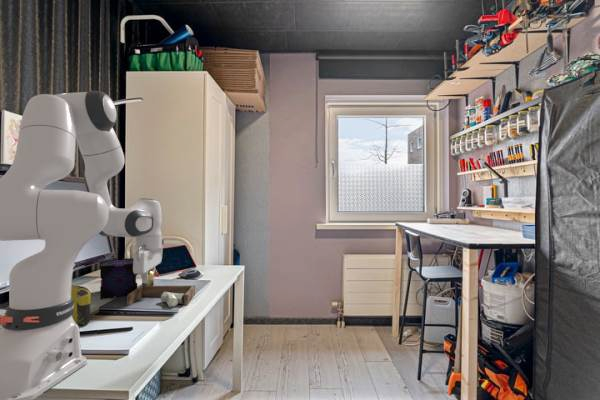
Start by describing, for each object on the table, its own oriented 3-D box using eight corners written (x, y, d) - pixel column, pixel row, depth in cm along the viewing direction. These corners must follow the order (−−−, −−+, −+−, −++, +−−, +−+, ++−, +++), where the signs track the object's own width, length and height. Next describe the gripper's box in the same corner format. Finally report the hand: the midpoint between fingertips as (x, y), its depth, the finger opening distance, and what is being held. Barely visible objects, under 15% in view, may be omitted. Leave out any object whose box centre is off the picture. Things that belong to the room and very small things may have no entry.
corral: (187, 305, 120) (187, 294, 120) (127, 305, 119) (127, 295, 119) (195, 294, 132) (195, 285, 132) (140, 295, 131) (140, 285, 131)
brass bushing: (151, 286, 126) (152, 272, 126) (140, 286, 126) (140, 272, 126) (155, 283, 130) (155, 270, 130) (144, 283, 130) (144, 270, 130)
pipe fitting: (175, 310, 117) (187, 302, 123) (175, 298, 116) (186, 291, 123) (154, 307, 119) (167, 300, 125) (154, 296, 119) (166, 289, 125)
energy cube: (100, 299, 125) (100, 266, 125) (101, 291, 135) (101, 260, 135) (137, 295, 131) (137, 263, 130) (135, 287, 141) (135, 257, 141)
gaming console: (95, 324, 102) (95, 290, 102) (79, 328, 99) (79, 293, 99) (55, 307, 116) (55, 277, 116) (40, 310, 113) (40, 279, 112)
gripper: (147, 247, 118) (147, 288, 118) (165, 239, 138) (165, 274, 138) (127, 247, 117) (127, 288, 117) (149, 239, 137) (148, 274, 138)
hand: (148, 280), depth 128 cm, fingers closed on brass bushing, 4 cm apart
